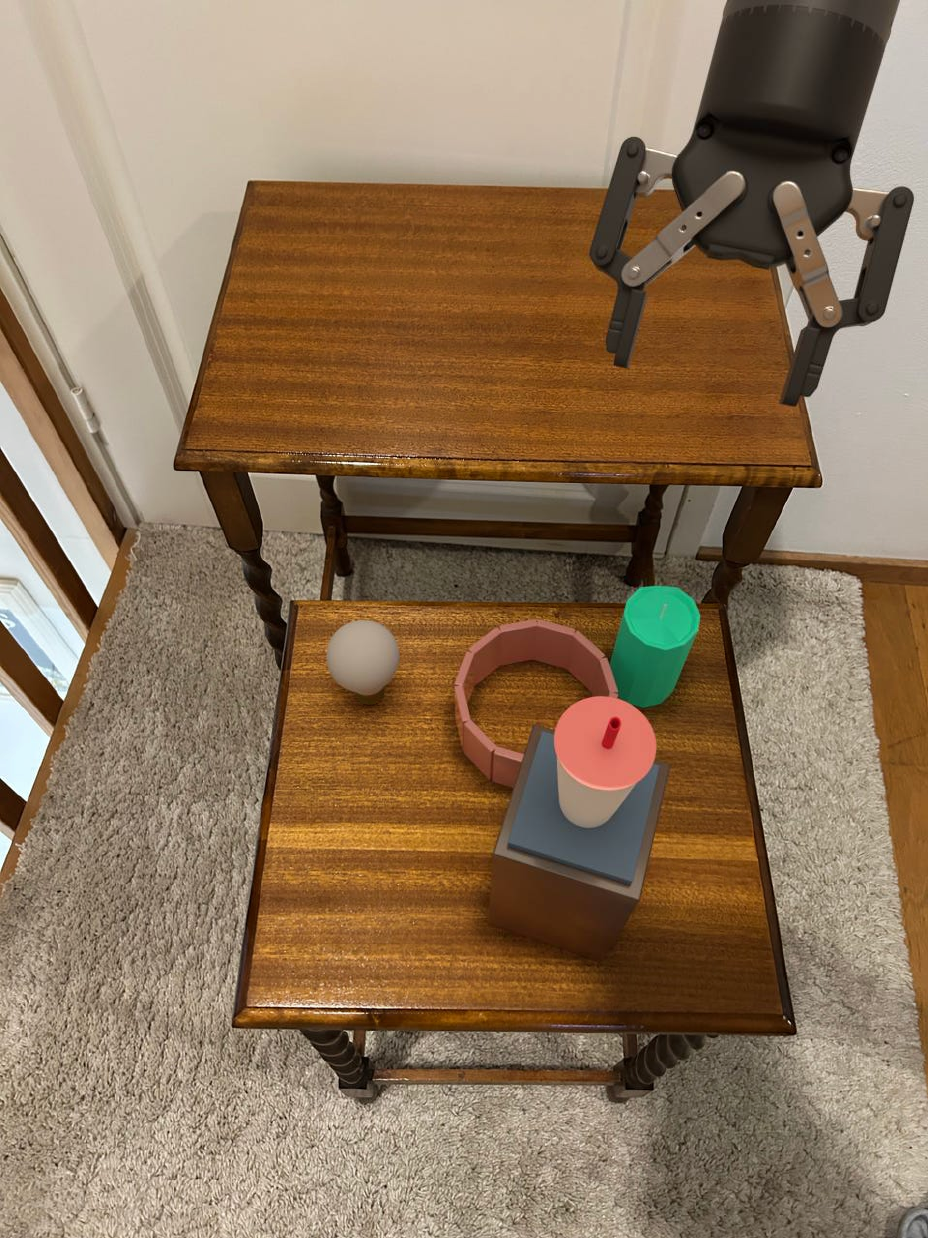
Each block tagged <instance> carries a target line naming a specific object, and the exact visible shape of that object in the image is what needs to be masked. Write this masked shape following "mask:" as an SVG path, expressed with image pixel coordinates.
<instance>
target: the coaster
mask: <svg viewBox="0 0 928 1238" xmlns="http://www.w3.org/2000/svg"><path fill="white" fill-rule="evenodd" d="M659 768H660V766H659V765H656V764H653V765H652V767H651V768H650V770H649V771H648V773H647V774H646V775H645V776H644V777H643V778H642V779H641V780H640V781H638V782H637V784H636V785H635V786H634V788H633V789H632V790H631V792H630V793H629V794H628V796H627V797H626V798H625V800H624V801H623V802H622V803H621V805H620V806H619V807H618V809H617V810H616V811H615V812H614V814H613V815H612V816H611V817H610V819H609V820H608V821H607V822H605V823H604V824H602V825H600V826H598V827H593V828H585V827H580V826H577V825H575V824H573V823H572V822H570V821H569V820H568V819H567V818H566V817H565V815H564V814H563V812H562V810H561V808H560V804H559V793H558V772H557V754H556V751H555V746H554V734H550V733H547V732H544V731H542V733H541V736H540V739H539V742H538V746H537V749H536V752H535V755H534V759H533V762H532V765H531V768H530V771H529V775H528V778H527V781H526V784H525V788H524V791H523V794H522V797H521V801H520V804H519V807H518V810H517V813H516V817H515V820H514V823H513V826H512V830H511V833H510V836H509V839H508V844H507V846H508V847H511V848H514V849H517V850H521V851H524V852H527V853H530V854H533V855H536V856H540V857H543V858H546V859H549V860H552V861H555V862H558V863H562V864H565V865H568V866H571V867H574V868H577V869H580V870H584V871H587V872H590V873H593V874H596V875H599V876H603V877H606V878H609V879H612V880H615V881H618V882H621V883H625V884H628V885H631V884H632V882H633V879H634V875H635V870H636V866H637V862H638V857H639V853H640V849H641V845H642V840H643V836H644V832H645V828H646V823H647V819H648V815H649V810H650V806H651V802H652V798H653V793H654V789H655V785H656V781H657V776H658V772H659Z"/></svg>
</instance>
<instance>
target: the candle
mask: <svg viewBox="0 0 928 1238" xmlns="http://www.w3.org/2000/svg"><path fill="white" fill-rule="evenodd" d="M700 621H701V613H700V611H699V609H698V607H697V604H696V602H695V599H694V598H693V597H692V596H690V595H689V594H687V593H686V592H685V591H683V590H682V589H680V588H679V587H677V586H665V585H649V586H641V587H639V588H638V589H637V590H636V591H635V592H634V593H633V594H632V595H631V596H630V597H629V598H628V599H626V603H625V605H624V610H623V614H622V618H621V621H620V625H619V629H618V632H617V636H616V640H615V643H614V647H613V651H612V654H611V657H610V662H609V665H610V668H611V671H612V674H613V677H614V680H615V683H616V686H617V689H618V693H617V694H618V699H620V700H623V701H625V702H627V703H629V704H631V705H632V706H634V707H639V708H643V709H645V708H649V707H654V706H657V705H661V704H662V703H664V702H665V700H667V699H668V698H669V697H670V695H671V694H673V692H674V689H675V688H676V685H677V683H678V680H679V678H680V675H681V673H682V670H683V668H684V666H685V663H686V661H687V658H688V656H689V653H690V651H691V649H692V646H693V644H694V642H695V640H696V637H697V635H698V632H699V628H700V627H699V626H700Z"/></svg>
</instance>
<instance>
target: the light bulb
mask: <svg viewBox="0 0 928 1238" xmlns="http://www.w3.org/2000/svg"><path fill="white" fill-rule="evenodd" d="M400 658H401V654H400V648H399V643H398V642H397V640H396V637H395V636H394V635H393V633H392V632H391V631H390V630H389V628H387V627H385V626H384V625H383V624H381V623H379V622H376V621H374V620H369V619H358V620H353V621H350V622H348V623H345V624H344V625H342V626H341V627H340V628H338V630H336V631H335V632H334V634H333V635H332V637H330V640H329V642H328V645H327V647H326V665H327V668H328V671H329V673H330V675H331V677H332V679H333V680H334V681H335V682H336V683H337V684H338V685H340V686H341V687H342V688H344V689H345V690H347V691H350V692H353V693H354V694H355V697H356V699H357V700H358V701H359V702H360V703H362V704H365V705H374V704H377V703H379V702H380V701H381V700H382V699H383V698H384V697H385V695H386V686H387V685H388V684H389V683H390V682H391V681H392V680H393V678H394V677H395V676H396V674H397V671H398V669H399V665H400V660H401V659H400Z"/></svg>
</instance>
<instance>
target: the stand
mask: <svg viewBox="0 0 928 1238" xmlns="http://www.w3.org/2000/svg"><path fill="white" fill-rule="evenodd" d="M542 731H544V732H547V733H550V734H555V729H552V728H549V727H546V726H543V725H539V724H535V723H534V724H533V725H532V728H531V730H530V734H529V737H528V740H527V743H526V746H525V750H524V753H523V754H524V756H523V759H522V762H521V766H520V769H519V772H518V775H517V778H516V781H515V785H514V788H512V791H511V793H510V798H509V801H508V803H507V807H506V810H505V814H504V817H503V820H502V823H501V825H500V829H499V832H498V836H497V839H496V841H495V845H494V848H493V851H492V861H491V873H490V877H491V878H490V889H489V903H488V917H487V920H488V921H487V925H489V926H492V927H495V928H498V929H501V930H503V931H507V932H509V933H512V934H515V935H518V936H521V937H525V938H527V939H531V940H533V941H537V942H540V943H541V944H545V945H548V946H551V947H555V948H558V949H561V950H563V951H566V952H569V953H573V954H575V955H578V956H582V957H585V958H587V959H590V960H594V961H595V962H596V961H597V962H600V963H603V962H604V960H605V959H606V957H607V955H608V954H609V951H610V950H611V948H612V947H613V945H614V944H615V942H616V940H617V939H618V937H619V935H620V934H621V932H622V930H623V929H624V927H625V925H627V922H628V921H629V919H630V917H631V915H632V914H633V912H634V910H635V909H636V907H637V906H638V904H639V903H640V900H641V897H642V893H643V888H644V884H645V879H646V875H647V870H648V866H649V861H650V858H651V854H652V849H653V843H654V840H655V835H656V832H657V827H658V823H659V817H660V815H661V809H662V804H663V801H664V797H665V792H666V788H667V783H668V779H669V776H670V775H669V774H670V770H671V764H670V763H669V762H666V761H662V760H658V759H656V758H655V759H654V762H653V764H656V765H659V766H660V768H659V772H658V776H657V781H656V785H655V789H654V793H653V798H652V802H651V806H650V810H649V815H648V819H647V823H646V828H645V832H644V836H643V840H642V845H641V849H640V853H639V857H638V862H637V866H636V870H635V875H634V879H633V882H632V884H631V885H628V884H625V883H621V882H618V881H615V880H612V879H609V878H606V877H603V876H599V875H596V874H593V873H590V872H587V871H584V870H580V869H577V868H574V867H571V866H568V865H565V864H562V863H558V862H555V861H552V860H549V859H546V858H543V857H540V856H536V855H533V854H530V853H527V852H524V851H521V850H517V849H514V848H511V847H508V846H507V844H508V839H509V836H510V833H511V830H512V826H513V823H514V820H515V817H516V813H517V810H518V807H519V804H520V801H521V797H522V794H523V791H524V788H525V784H526V781H527V778H528V775H529V771H530V768H531V765H532V762H533V759H534V755H535V752H536V749H537V746H538V742H539V739H540V736H541V733H542Z"/></svg>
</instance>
